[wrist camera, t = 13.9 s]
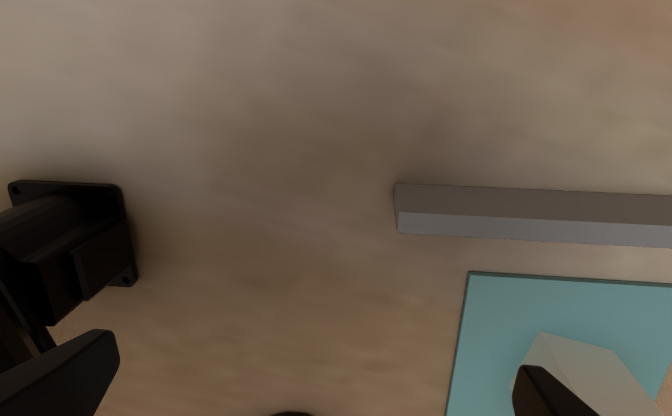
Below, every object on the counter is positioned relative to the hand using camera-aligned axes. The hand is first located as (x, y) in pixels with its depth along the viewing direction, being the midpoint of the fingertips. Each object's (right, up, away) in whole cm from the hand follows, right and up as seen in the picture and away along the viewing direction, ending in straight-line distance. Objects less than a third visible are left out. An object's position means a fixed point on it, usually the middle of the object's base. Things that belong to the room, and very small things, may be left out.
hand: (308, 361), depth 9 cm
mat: (+14, -6, +15) cm, 21 cm away
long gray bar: (+11, +4, +11) cm, 16 cm away
